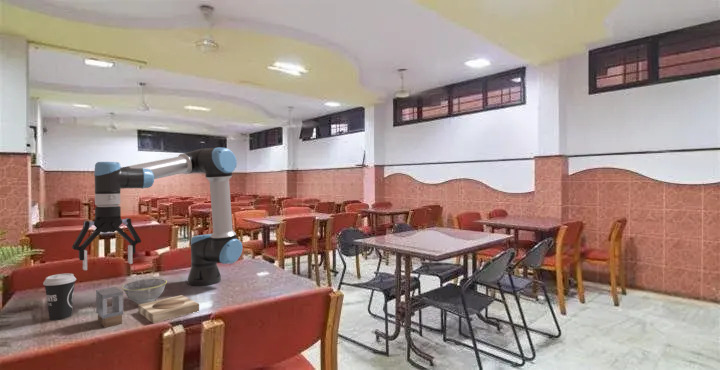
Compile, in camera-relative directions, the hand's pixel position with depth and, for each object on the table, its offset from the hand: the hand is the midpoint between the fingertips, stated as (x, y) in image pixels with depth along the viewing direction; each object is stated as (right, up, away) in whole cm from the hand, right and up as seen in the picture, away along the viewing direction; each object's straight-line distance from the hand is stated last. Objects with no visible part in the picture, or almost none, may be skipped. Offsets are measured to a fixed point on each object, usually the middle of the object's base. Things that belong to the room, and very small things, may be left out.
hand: (108, 266), depth 134 cm
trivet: (+16, -20, +10) cm, 27 cm away
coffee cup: (-21, -20, +6) cm, 30 cm away
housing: (0, -17, 0) cm, 17 cm away
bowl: (0, -20, +22) cm, 30 cm away
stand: (0, -20, 0) cm, 20 cm away
